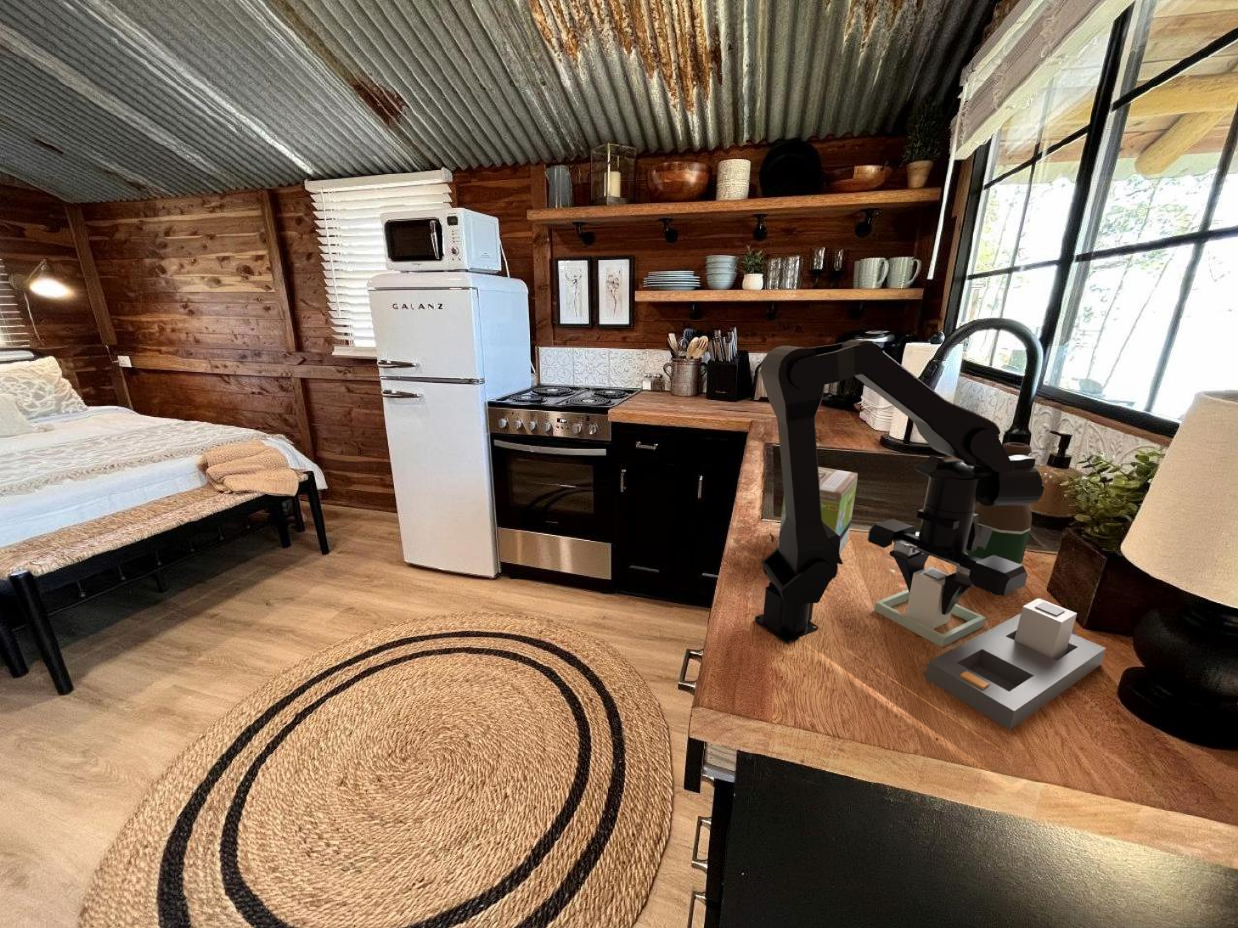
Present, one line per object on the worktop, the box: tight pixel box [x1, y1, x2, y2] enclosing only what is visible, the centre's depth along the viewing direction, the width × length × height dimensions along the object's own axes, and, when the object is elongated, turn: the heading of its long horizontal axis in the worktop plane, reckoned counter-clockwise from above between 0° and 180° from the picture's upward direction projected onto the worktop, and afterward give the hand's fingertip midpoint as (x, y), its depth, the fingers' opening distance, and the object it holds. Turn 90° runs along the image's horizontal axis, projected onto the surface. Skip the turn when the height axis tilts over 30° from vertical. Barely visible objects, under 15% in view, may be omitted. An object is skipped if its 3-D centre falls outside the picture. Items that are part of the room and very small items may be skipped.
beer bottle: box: [966, 441, 1033, 565], centre depth 80 cm, size 8×8×24 cm
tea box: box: [777, 466, 859, 555], centre depth 94 cm, size 15×10×15 cm
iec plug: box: [905, 566, 952, 630], centre depth 72 cm, size 4×4×7 cm
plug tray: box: [873, 588, 987, 648], centre depth 73 cm, size 10×10×2 cm
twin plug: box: [1014, 597, 1078, 660], centre depth 63 cm, size 4×4×7 cm
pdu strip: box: [924, 612, 1107, 731], centre depth 62 cm, size 25×9×3 cm, turn 118°
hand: (929, 606), depth 72 cm, fingers closed on iec plug, 4 cm apart
